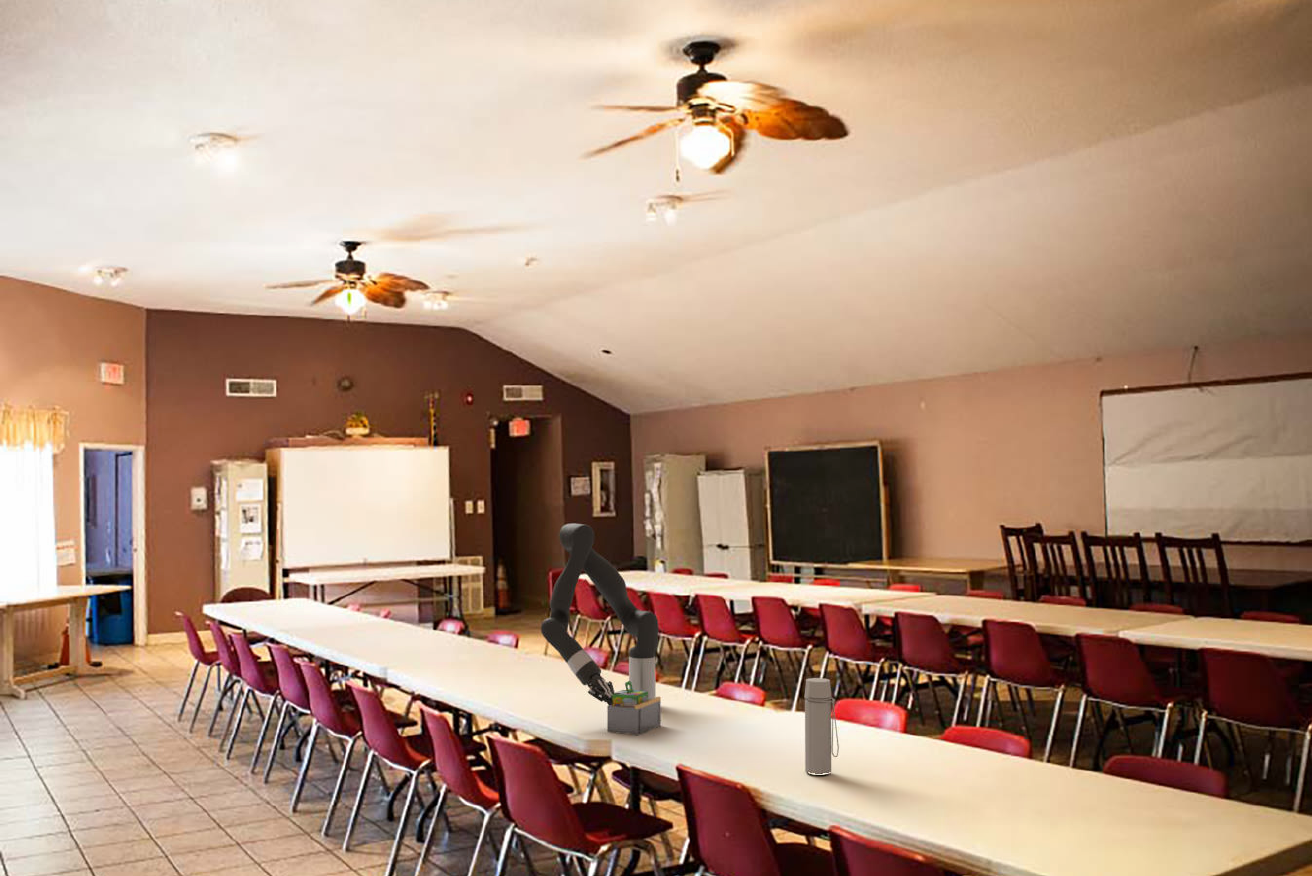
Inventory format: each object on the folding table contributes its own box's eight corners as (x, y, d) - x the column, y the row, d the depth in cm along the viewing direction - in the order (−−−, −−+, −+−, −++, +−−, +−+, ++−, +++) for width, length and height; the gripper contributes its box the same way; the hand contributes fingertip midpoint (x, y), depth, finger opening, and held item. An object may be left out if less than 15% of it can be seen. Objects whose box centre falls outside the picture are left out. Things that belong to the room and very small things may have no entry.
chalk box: (638, 733, 359) (638, 685, 359) (611, 730, 362) (611, 683, 363) (649, 727, 367) (649, 680, 368) (623, 724, 371) (623, 678, 371)
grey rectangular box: (630, 722, 374) (630, 694, 375) (660, 725, 369) (660, 696, 370) (606, 732, 360) (606, 702, 360) (637, 735, 355) (637, 705, 355)
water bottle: (801, 776, 306) (801, 681, 307) (808, 769, 313) (807, 676, 314) (835, 779, 302) (835, 683, 303) (841, 772, 310) (841, 679, 311)
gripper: (580, 662, 366) (614, 704, 361) (601, 657, 378) (633, 697, 372) (566, 678, 369) (599, 720, 363) (587, 672, 380) (619, 712, 375)
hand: (616, 708), depth 368 cm, fingers closed
